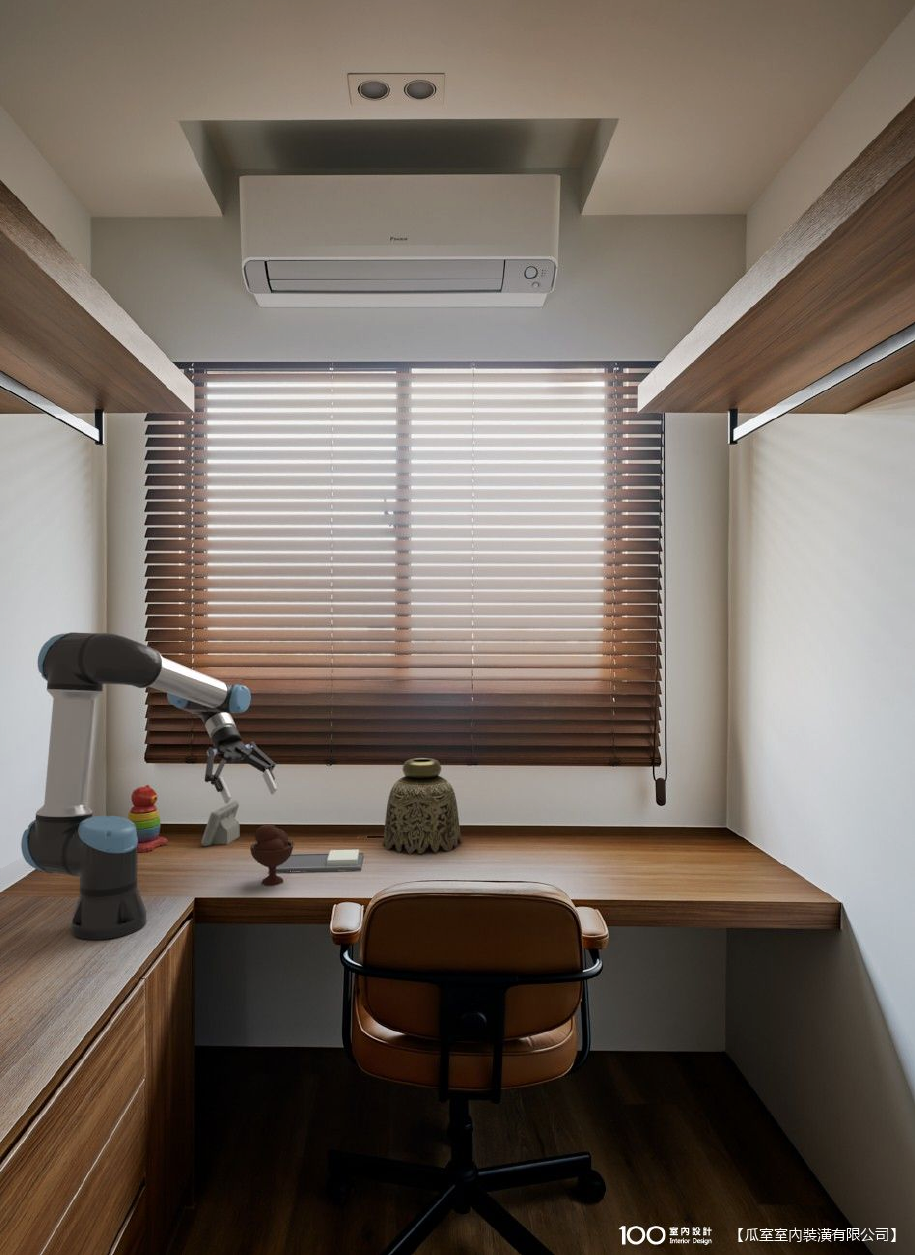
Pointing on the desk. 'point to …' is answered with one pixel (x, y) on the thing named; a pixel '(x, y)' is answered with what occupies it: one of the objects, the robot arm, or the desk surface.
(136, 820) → the stacking bear
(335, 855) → the pale green flat block
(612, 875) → the desk surface
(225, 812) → the digital clock
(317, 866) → the tray
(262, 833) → the ice cream bowl
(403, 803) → the lamp shade
